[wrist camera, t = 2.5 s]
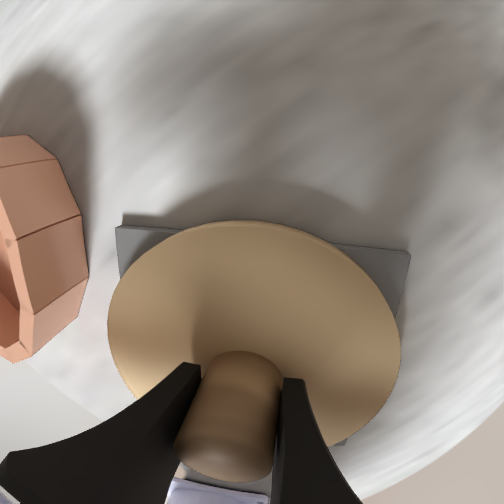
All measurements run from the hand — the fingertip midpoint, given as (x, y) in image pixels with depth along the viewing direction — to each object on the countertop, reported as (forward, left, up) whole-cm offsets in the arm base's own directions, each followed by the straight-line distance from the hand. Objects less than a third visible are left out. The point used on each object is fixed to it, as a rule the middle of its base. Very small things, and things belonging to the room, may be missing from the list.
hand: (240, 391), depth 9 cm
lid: (0, 0, -1) cm, 1 cm away
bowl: (+4, +12, -2) cm, 13 cm away
